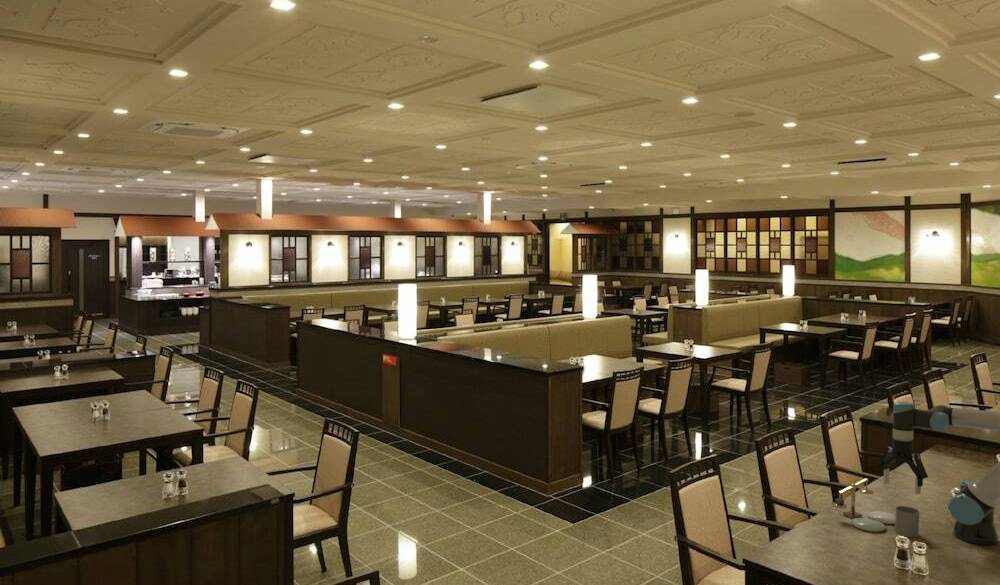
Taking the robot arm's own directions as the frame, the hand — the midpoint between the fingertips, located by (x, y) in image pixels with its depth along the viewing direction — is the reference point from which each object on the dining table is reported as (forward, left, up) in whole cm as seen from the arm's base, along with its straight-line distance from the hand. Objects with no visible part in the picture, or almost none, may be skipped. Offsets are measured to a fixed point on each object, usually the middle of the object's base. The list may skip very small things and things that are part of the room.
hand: (901, 488), depth 288 cm
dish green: (+7, +10, -18) cm, 22 cm away
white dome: (+10, -4, -18) cm, 21 cm away
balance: (+18, +6, -18) cm, 26 cm away
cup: (-4, +1, -18) cm, 18 cm away
